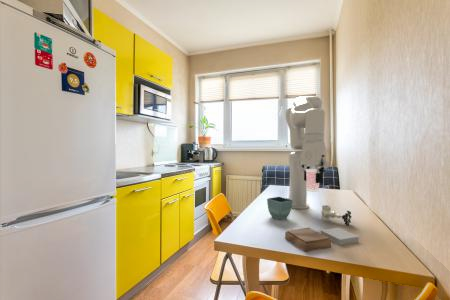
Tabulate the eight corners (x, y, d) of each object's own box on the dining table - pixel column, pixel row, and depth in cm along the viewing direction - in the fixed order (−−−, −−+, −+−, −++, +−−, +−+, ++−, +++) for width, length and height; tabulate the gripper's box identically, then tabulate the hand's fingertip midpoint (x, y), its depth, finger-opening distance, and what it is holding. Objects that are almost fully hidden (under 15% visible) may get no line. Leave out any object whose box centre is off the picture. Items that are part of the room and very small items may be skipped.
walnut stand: (285, 238, 82) (285, 230, 82) (308, 234, 86) (308, 226, 86) (305, 251, 72) (305, 242, 72) (331, 246, 76) (331, 238, 76)
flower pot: (278, 213, 112) (278, 196, 111) (292, 218, 105) (293, 200, 104) (266, 216, 106) (266, 198, 106) (280, 222, 99) (281, 202, 99)
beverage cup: (307, 189, 97) (307, 157, 97) (322, 190, 93) (322, 157, 93) (303, 191, 92) (304, 157, 92) (318, 193, 88) (319, 158, 88)
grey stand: (320, 235, 86) (320, 230, 86) (337, 232, 89) (338, 227, 89) (339, 245, 77) (340, 239, 77) (358, 241, 80) (358, 236, 80)
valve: (318, 220, 103) (346, 227, 95) (319, 206, 103) (347, 212, 95) (324, 217, 108) (351, 224, 99) (324, 204, 108) (351, 209, 99)
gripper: (293, 139, 99) (292, 179, 99) (323, 137, 83) (322, 185, 83) (306, 139, 102) (305, 178, 102) (338, 138, 86) (336, 184, 86)
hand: (313, 181), depth 92 cm, fingers closed on beverage cup, 6 cm apart
